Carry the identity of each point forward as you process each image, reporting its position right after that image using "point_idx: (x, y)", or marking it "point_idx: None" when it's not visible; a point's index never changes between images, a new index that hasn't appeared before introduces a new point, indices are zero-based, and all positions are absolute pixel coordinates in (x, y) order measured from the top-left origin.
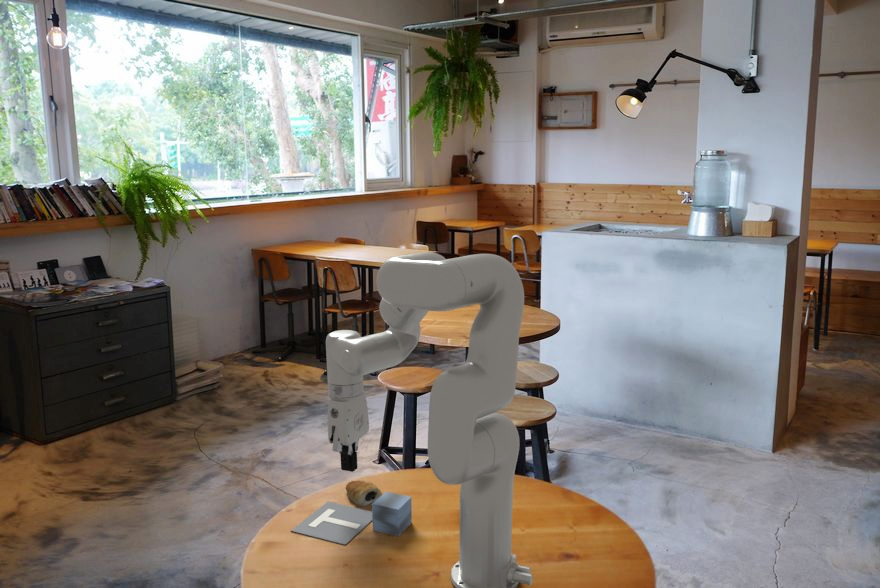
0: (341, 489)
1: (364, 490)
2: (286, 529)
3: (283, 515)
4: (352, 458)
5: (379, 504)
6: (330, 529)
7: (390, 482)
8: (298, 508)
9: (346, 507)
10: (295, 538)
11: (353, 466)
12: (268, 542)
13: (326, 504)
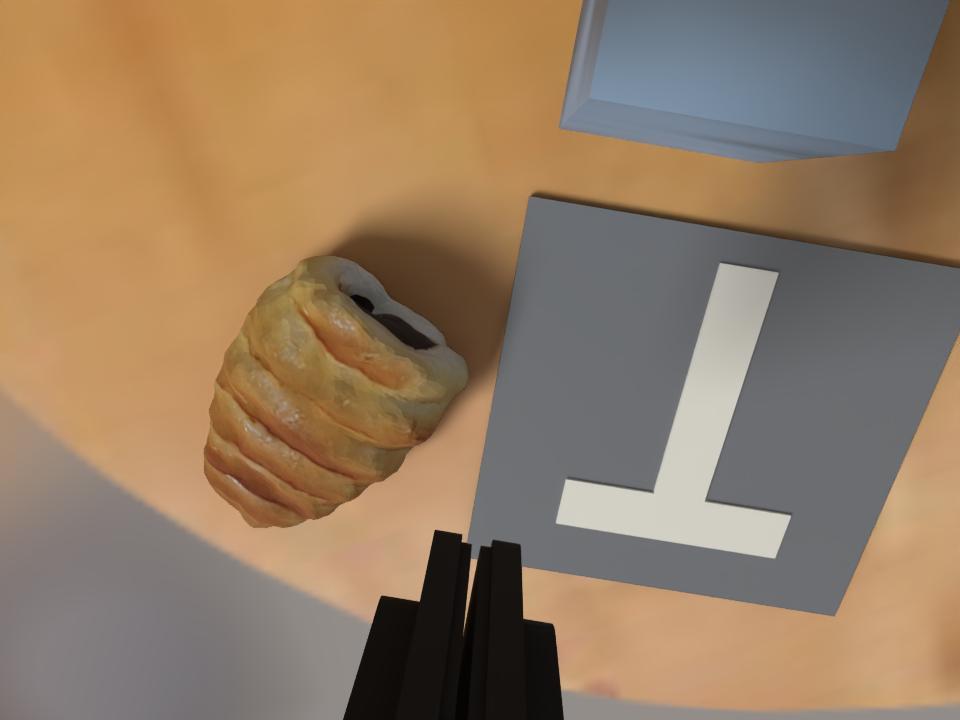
0: (288, 537)
1: (405, 373)
2: (808, 639)
3: (663, 700)
4: (523, 691)
5: (910, 60)
6: (800, 427)
7: (66, 278)
8: (573, 663)
9: (508, 433)
10: (903, 567)
11: (521, 585)
12: (951, 667)
13: None
